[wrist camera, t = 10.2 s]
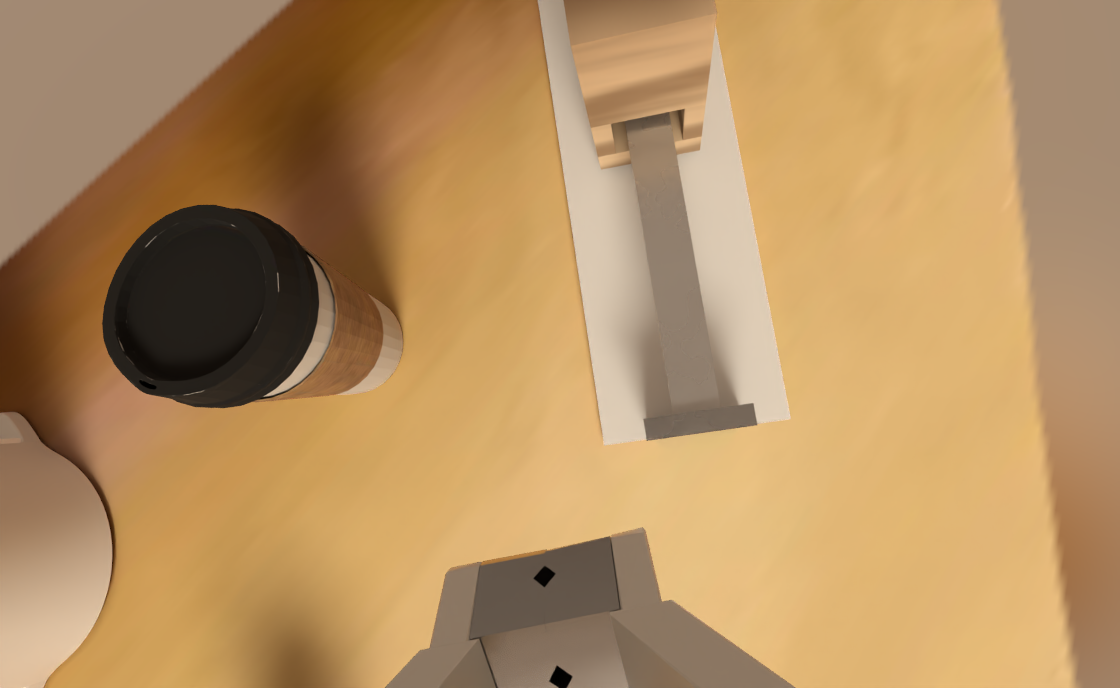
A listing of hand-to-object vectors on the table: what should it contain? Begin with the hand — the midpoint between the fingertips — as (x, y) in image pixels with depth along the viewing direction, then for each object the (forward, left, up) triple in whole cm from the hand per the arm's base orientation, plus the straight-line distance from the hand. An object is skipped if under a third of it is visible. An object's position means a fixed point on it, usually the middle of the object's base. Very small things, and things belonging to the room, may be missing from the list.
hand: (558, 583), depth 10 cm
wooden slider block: (+3, +20, -26) cm, 33 cm away
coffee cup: (-15, +10, -28) cm, 33 cm away
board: (+4, +16, -28) cm, 32 cm away
